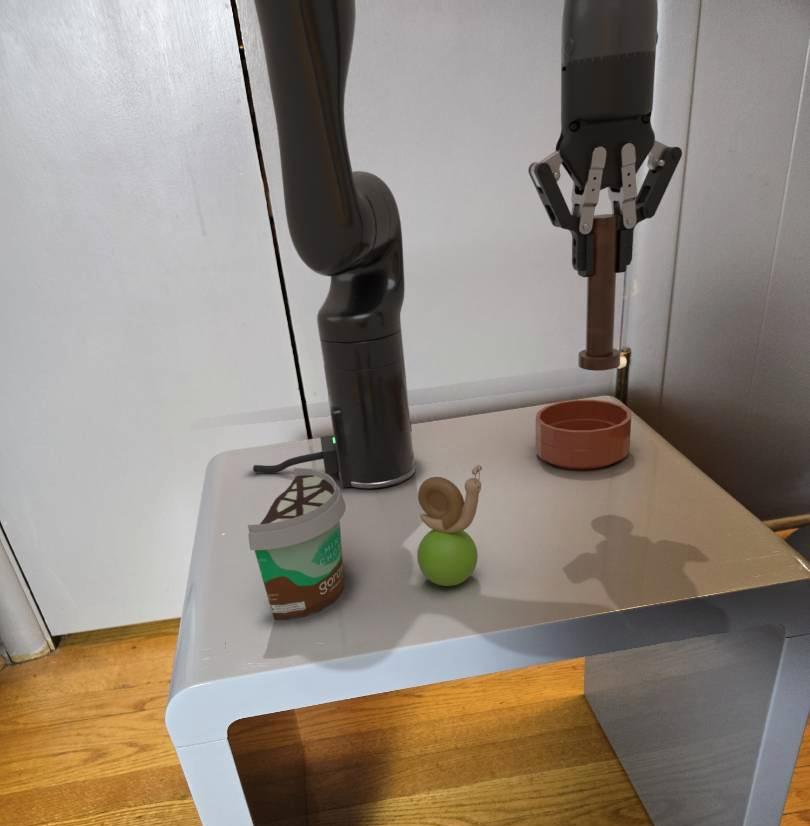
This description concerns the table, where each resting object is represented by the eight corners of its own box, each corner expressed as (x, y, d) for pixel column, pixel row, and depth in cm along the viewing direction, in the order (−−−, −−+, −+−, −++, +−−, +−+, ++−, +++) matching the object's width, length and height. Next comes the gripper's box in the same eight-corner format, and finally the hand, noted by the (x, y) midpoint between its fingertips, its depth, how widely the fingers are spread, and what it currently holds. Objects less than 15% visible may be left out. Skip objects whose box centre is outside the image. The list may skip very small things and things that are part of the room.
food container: (335, 633, 62) (318, 529, 57) (267, 629, 64) (245, 528, 59) (370, 558, 73) (358, 465, 68) (311, 556, 74) (295, 465, 69)
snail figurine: (471, 606, 64) (463, 480, 58) (408, 589, 67) (395, 468, 61) (498, 575, 68) (494, 454, 62) (438, 561, 71) (428, 445, 65)
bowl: (552, 477, 85) (553, 437, 82) (525, 443, 94) (524, 406, 92) (644, 464, 86) (647, 423, 83) (607, 432, 95) (609, 394, 93)
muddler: (587, 373, 71) (590, 220, 64) (572, 362, 74) (574, 216, 68) (626, 367, 71) (634, 215, 65) (610, 356, 75) (615, 211, 68)
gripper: (667, 50, 64) (654, 259, 73) (512, 66, 63) (517, 277, 71) (712, 39, 58) (691, 270, 66) (540, 57, 56) (542, 290, 65)
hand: (601, 272), depth 69 cm, fingers closed on muddler, 2 cm apart
